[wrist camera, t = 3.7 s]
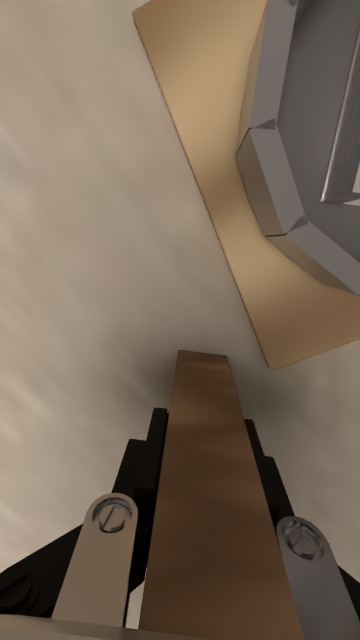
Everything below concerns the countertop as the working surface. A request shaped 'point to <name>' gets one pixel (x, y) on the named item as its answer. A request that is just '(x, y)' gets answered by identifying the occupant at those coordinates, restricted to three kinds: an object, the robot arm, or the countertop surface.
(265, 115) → the round grey dish
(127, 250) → the countertop surface
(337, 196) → the clip
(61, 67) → the countertop surface
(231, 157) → the cork mat
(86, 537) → the robot arm
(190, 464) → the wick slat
